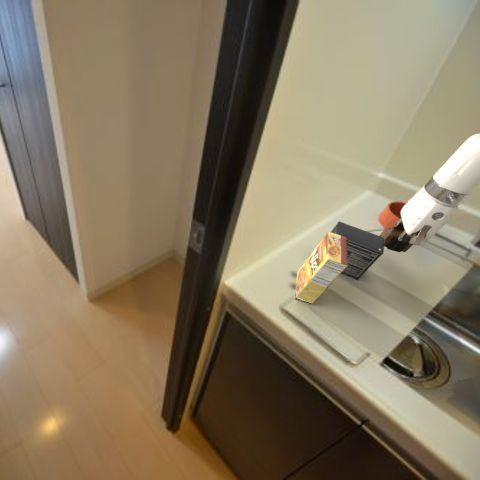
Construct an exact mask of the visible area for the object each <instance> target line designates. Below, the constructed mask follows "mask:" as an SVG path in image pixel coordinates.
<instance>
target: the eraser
mask: <svg viewBox="0 0 480 480" xmlns="http://www.w3.org/2000/svg"><path fill="white" fill-rule="evenodd" d="M402 233H403V231H402V230H398V229H394V228H390V227H387V228H385V229H384V230H383V231H382V232H381V233H380V234H379V236H381V237H384V238H385V241H384V248H387V246H388V245H389V244H390V243H391V242H392V241H393V240H394V239H395V238H396V237H399V236H400V235H401V234H402ZM407 236H408V237H412V235H408V234H407ZM412 246H415V245H414V244H409V245H408V246H406V247H405V248H404V249H403V250H402V251H401V252H403V253H406V252H407V251H409V249H411V248H412Z"/></svg>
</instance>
